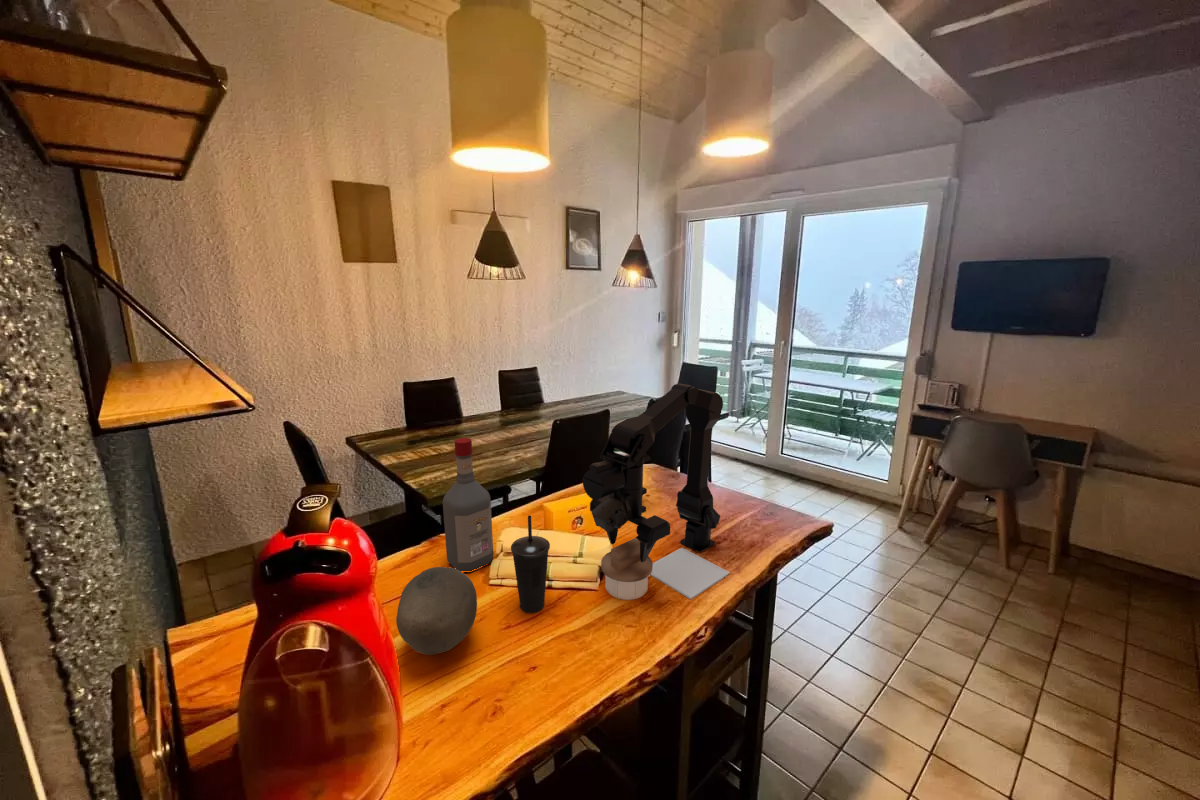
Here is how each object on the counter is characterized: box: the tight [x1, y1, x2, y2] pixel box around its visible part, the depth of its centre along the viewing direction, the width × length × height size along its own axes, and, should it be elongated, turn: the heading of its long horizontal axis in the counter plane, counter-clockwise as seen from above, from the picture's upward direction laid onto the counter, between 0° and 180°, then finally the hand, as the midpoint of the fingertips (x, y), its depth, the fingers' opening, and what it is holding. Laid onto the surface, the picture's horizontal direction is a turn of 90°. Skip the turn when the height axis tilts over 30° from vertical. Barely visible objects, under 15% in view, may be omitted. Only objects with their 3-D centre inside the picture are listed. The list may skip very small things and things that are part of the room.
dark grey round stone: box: [395, 566, 478, 656], centre depth 87 cm, size 14×14×15 cm
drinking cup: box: [510, 515, 551, 614], centre depth 98 cm, size 8×8×20 cm
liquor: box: [442, 437, 494, 571], centre depth 112 cm, size 9×9×30 cm
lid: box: [600, 537, 654, 582], centre depth 105 cm, size 11×11×5 cm
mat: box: [649, 547, 731, 600], centre depth 112 cm, size 14×14×1 cm
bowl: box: [604, 574, 649, 601], centre depth 106 cm, size 9×9×5 cm
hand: (627, 552), depth 105 cm, fingers open, 9 cm apart
